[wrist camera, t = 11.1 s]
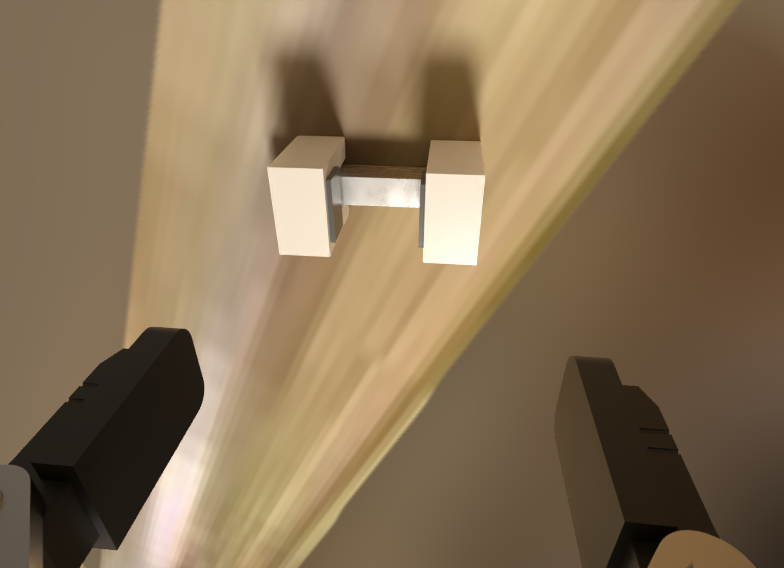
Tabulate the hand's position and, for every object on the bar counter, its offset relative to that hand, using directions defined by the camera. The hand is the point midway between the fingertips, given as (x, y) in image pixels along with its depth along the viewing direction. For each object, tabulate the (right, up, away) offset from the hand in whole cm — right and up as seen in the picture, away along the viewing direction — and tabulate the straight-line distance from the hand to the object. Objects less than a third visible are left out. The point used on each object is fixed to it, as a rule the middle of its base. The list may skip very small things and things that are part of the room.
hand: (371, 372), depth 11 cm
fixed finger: (+6, +11, +32) cm, 34 cm away
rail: (-1, +11, +33) cm, 34 cm away
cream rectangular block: (-6, +11, +33) cm, 35 cm away
